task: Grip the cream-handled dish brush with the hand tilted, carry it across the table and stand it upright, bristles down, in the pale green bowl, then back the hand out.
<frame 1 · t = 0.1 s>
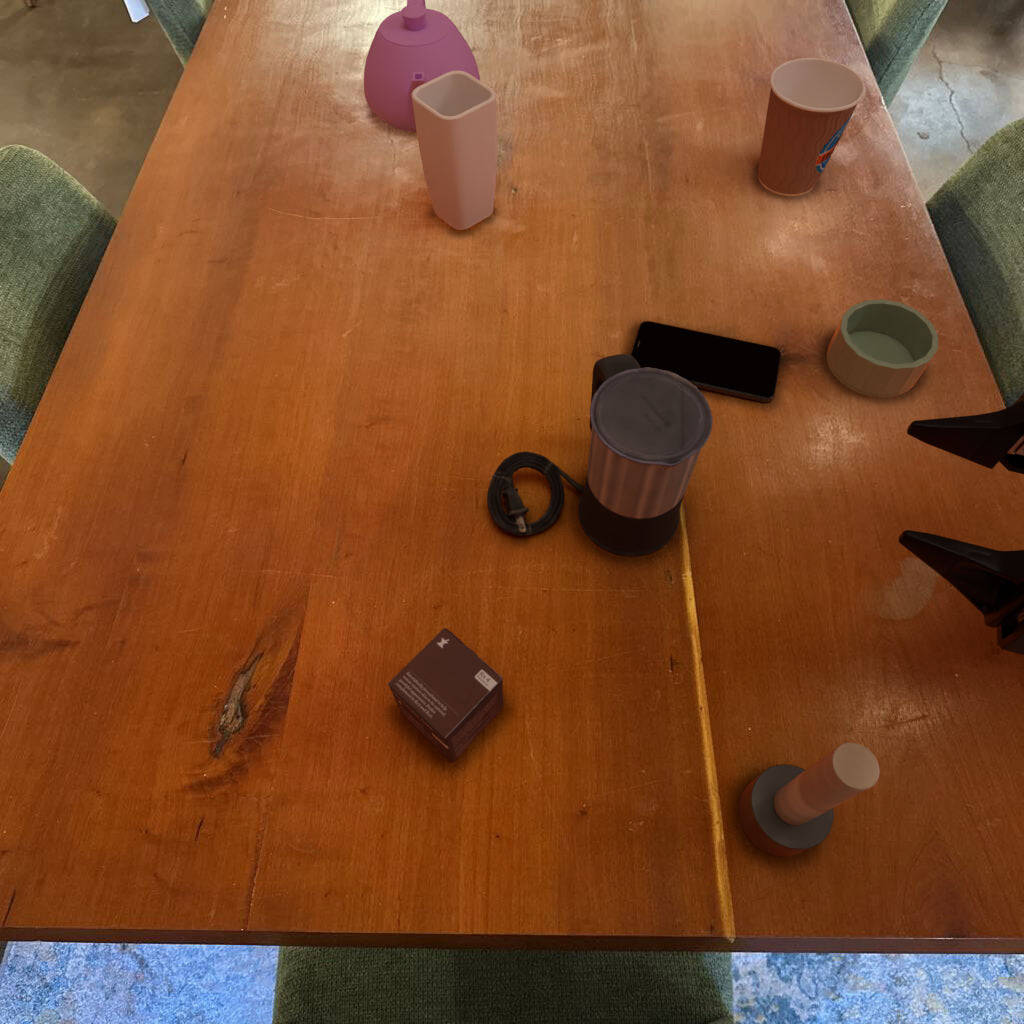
hand: (905, 479, 51), 17 cm above the table, tool horizontal, fingers open, 9 cm apart
box: (453, 711, 61), on the table
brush: (776, 815, 56), on the table
milk frother: (583, 512, 70), on the table
coffee cup: (785, 180, 95), on the table
smartphone: (703, 364, 79), on the table
pale green bowl: (871, 363, 79), on the table
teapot: (425, 106, 104), on the table
cup: (463, 216, 92), on the table
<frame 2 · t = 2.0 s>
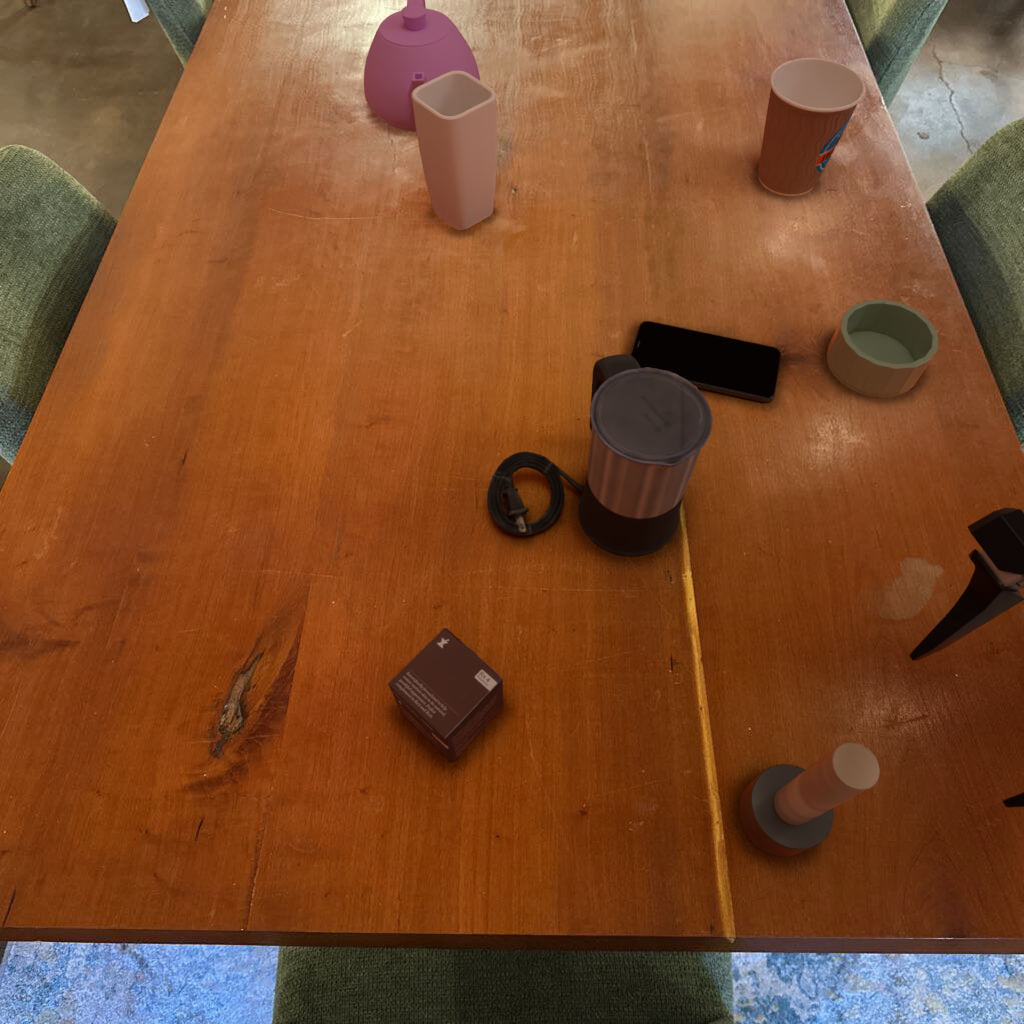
hand: (956, 727, 46), 14 cm above the table, tool tilted 45°, fingers open, 9 cm apart
nothing on the table moved.
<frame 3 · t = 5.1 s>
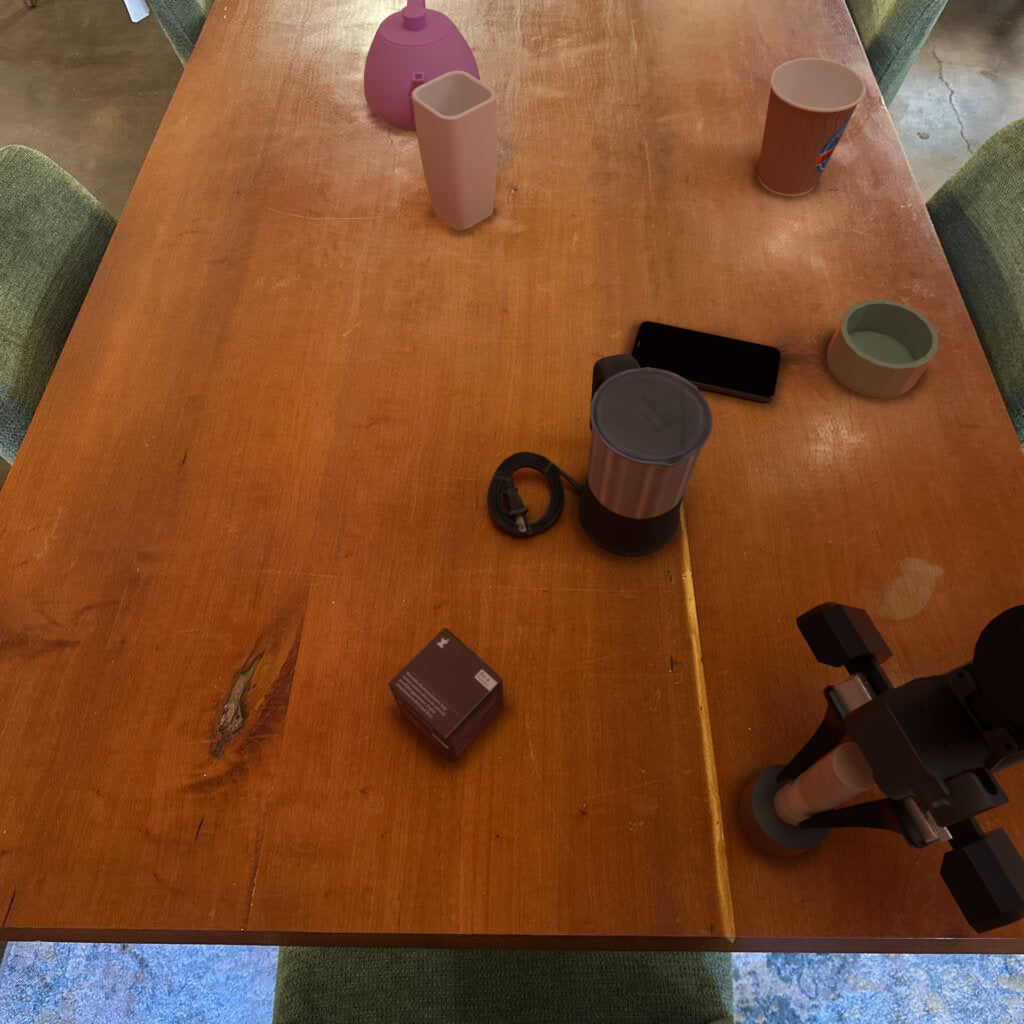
hand: (789, 802, 50), 8 cm above the table, tool tilted 45°, fingers closed on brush, 2 cm apart
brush: (776, 815, 56), on the table, touching gripper
everything else where it was.
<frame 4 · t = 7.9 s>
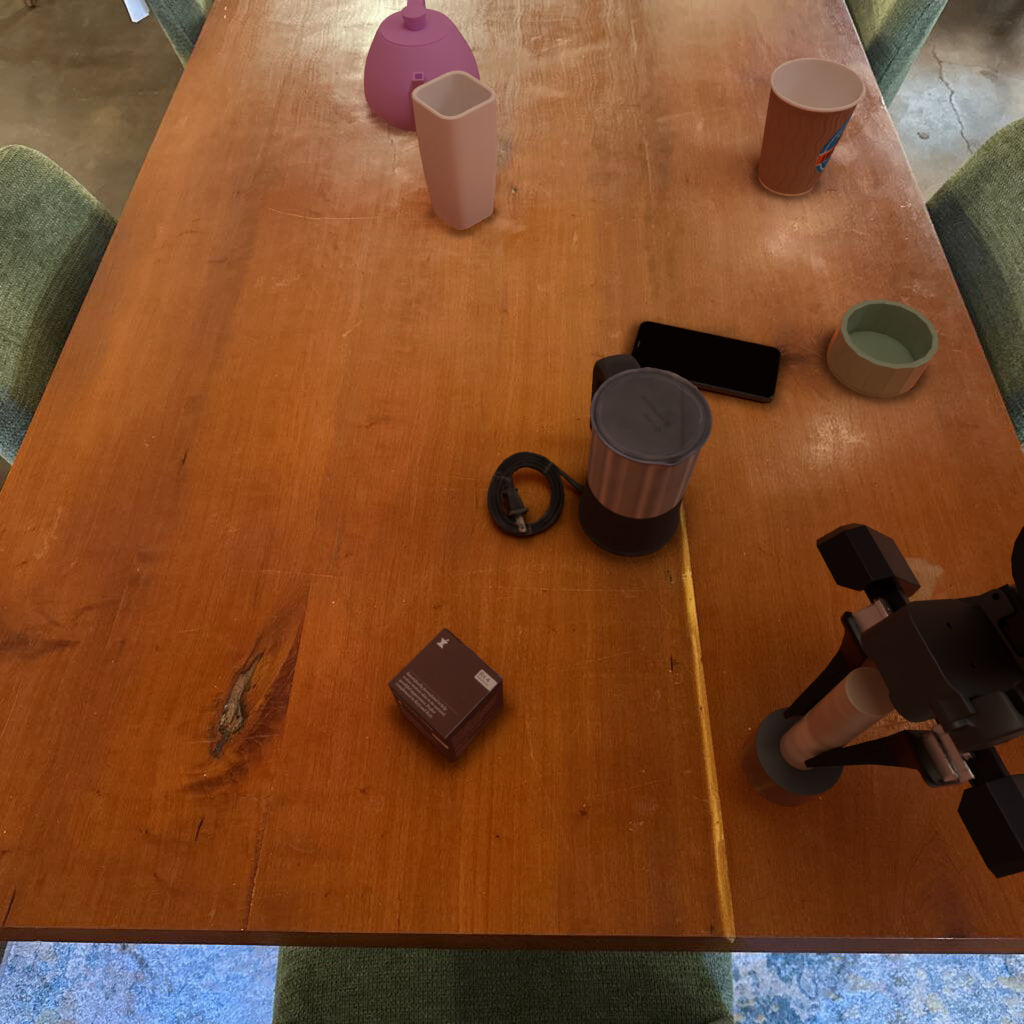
hand: (796, 740, 46), 13 cm above the table, tool tilted 45°, fingers closed on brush, 2 cm apart
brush: (782, 764, 52), point 6 cm above the table, touching gripper
everything else where it was.
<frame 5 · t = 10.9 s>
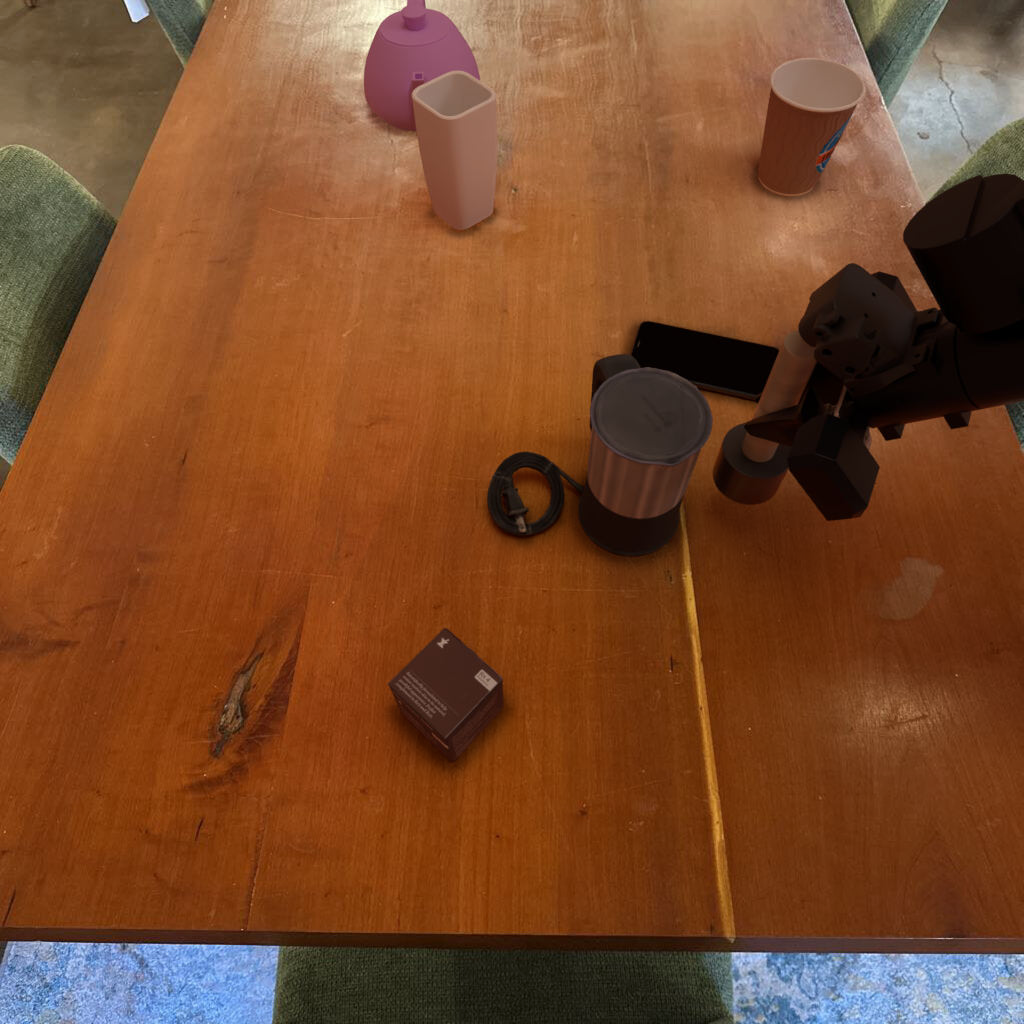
hand: (752, 415, 58), 14 cm above the table, tool tilted 45°, fingers closed on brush, 2 cm apart
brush: (745, 477, 65), point 6 cm above the table, touching gripper
everything else where it was.
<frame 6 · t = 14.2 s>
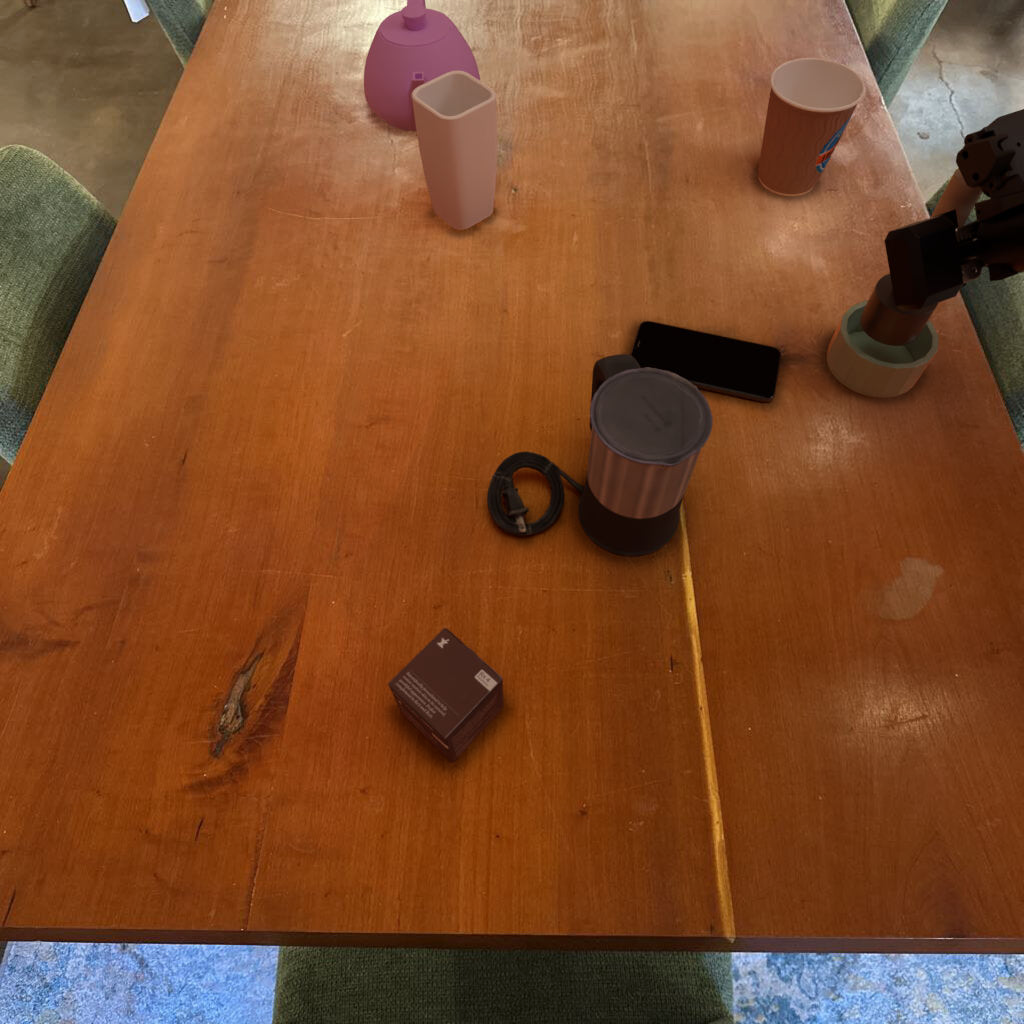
hand: (914, 252, 68), 13 cm above the table, tool tilted 45°, fingers closed on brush, 2 cm apart
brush: (889, 324, 73), point 6 cm above the table, touching gripper
everything else where it was.
when the fingers open (8 cm above the table, at t = 16.5 s): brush stays where it is, resting on pale green bowl.
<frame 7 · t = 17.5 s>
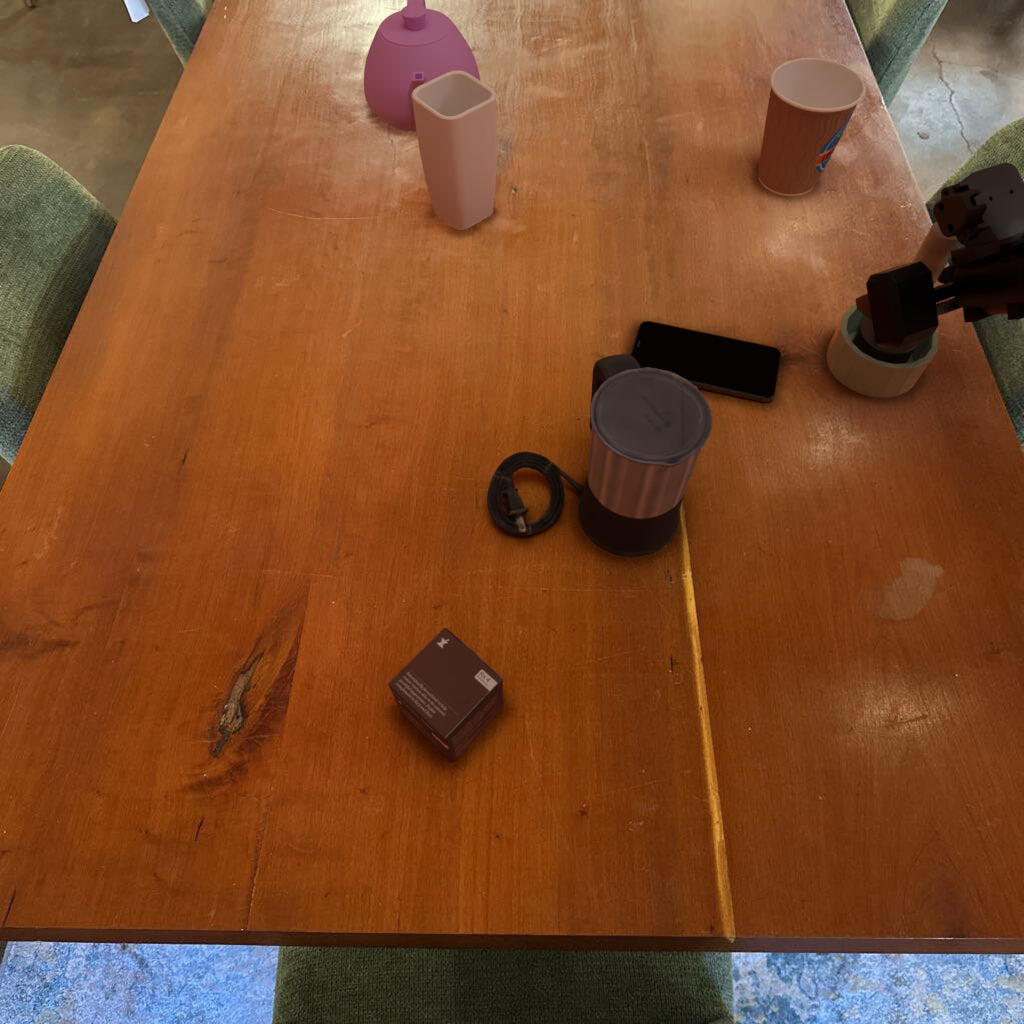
hand: (898, 289, 72), 9 cm above the table, tool tilted 45°, fingers open, 9 cm apart
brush: (874, 360, 78), point 1 cm above the table, touching pale green bowl
everything else where it was.
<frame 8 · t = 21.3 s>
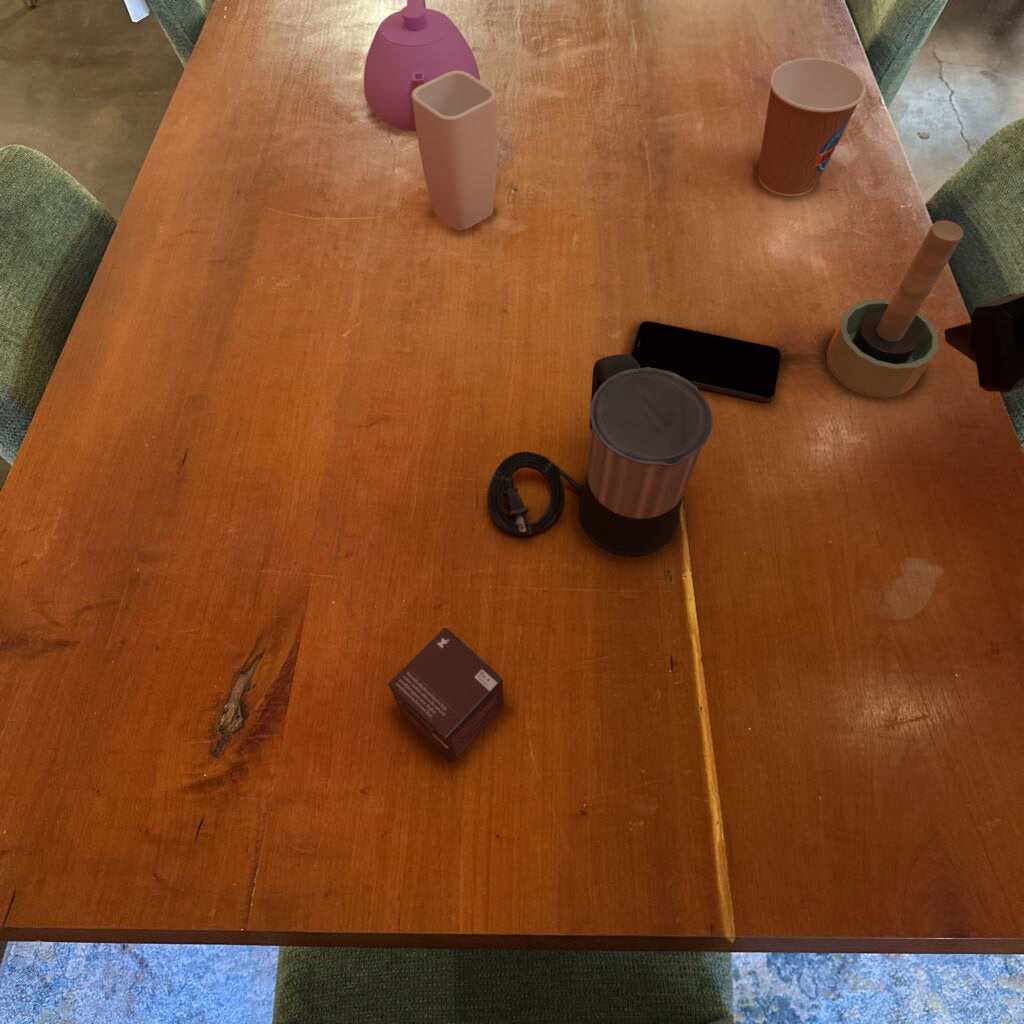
hand: (991, 318, 63), 14 cm above the table, tool tilted 45°, fingers open, 9 cm apart
nothing on the table moved.
at the end: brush 0.0 cm off-centre in the pale green bowl, point 0.6 cm above the pale green bowl's base; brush tilted 0°; the gripper is holding nothing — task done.
